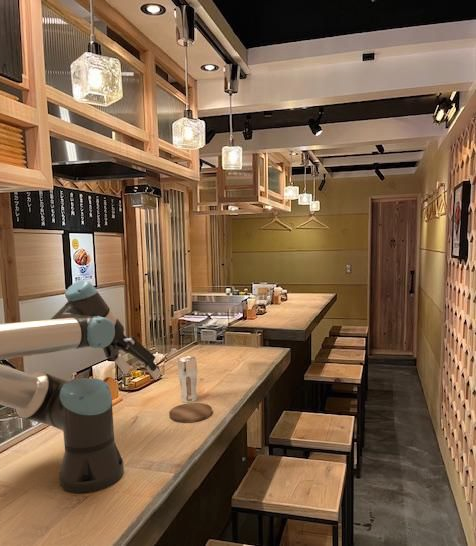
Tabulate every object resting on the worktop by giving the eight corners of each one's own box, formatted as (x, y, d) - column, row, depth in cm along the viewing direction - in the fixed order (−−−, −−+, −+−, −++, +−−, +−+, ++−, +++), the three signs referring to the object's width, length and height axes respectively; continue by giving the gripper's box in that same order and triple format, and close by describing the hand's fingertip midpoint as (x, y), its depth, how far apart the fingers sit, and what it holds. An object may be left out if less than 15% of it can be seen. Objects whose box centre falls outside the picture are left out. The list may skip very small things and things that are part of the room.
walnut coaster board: (191, 426, 138) (191, 422, 137) (160, 417, 146) (160, 413, 146) (220, 411, 149) (220, 407, 149) (189, 403, 157) (189, 400, 157)
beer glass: (195, 403, 157) (193, 361, 156) (177, 402, 159) (174, 361, 158) (201, 396, 164) (199, 356, 163) (183, 395, 165) (180, 356, 164)
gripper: (143, 318, 125) (177, 368, 136) (88, 315, 139) (123, 360, 150) (127, 338, 120) (164, 388, 131) (72, 332, 134) (109, 378, 145)
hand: (142, 373), depth 140 cm, fingers open, 13 cm apart
